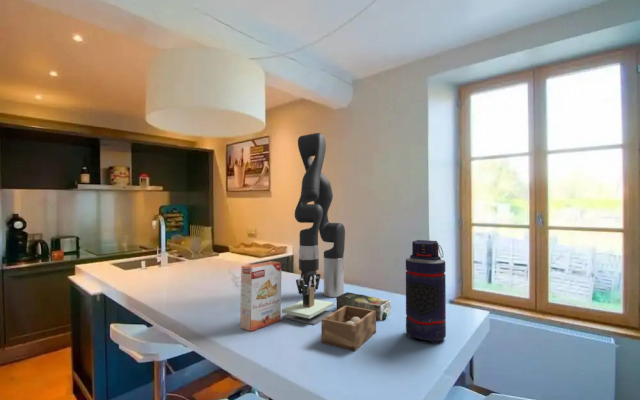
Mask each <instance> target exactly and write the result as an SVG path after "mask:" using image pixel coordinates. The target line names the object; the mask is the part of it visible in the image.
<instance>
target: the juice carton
mask: <svg viewBox="0 0 640 400" xmlns="http://www.w3.org/2000/svg"><path fill="white" fill-rule="evenodd" d="M335 298H336V311H337V310H338V309H340V308H342V307H344V306H345V305H347V306H352V307H358V308H364V309H369V310H375V311H376V321H377V320H378V321H383V320H385V319H386V318H388V316H390V315H391V310H392V309H391V308H392V305H391V304H392V303H391V299H386V298H382V297H381V298H380V297H376V296H370V295H365V294H357V293H354V292H344V293H343V294H342V295H340V296H338V297H335Z"/></svg>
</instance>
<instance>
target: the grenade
mask: <svg viewBox="0 0 640 400" xmlns="http://www.w3.org/2000/svg"><path fill="white" fill-rule="evenodd" d="M411 243H412V244H411V245H412V246H411V247H412V249H411V250H412V254H410V256H409V257H408V258H406V259H405V331H406V333H407V335H408V338H409V339H410V340H414V338H415V339H419V340H424V341H431V344H434V345H436V344H440V341H441V340H443V339H445V338H446V336H447V328H446V327H447V324H446V322H447V321H446V317H447V315H446V314H447V313H446V312H447V311H446V310H447V309H446V300H447V299H446V298H447V297H446V295H447V294H446V261H445V260H444V259H442V258H444V255H445V254H444V251H443V249H442V248H443V247H442V246H441V245H440V244H439V242H438V240H427V239H426V240H423V239H422V240H421V239H416V240H413V241H412V242H411ZM439 255H440V256H439Z"/></svg>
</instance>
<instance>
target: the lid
mask: <svg viewBox="0 0 640 400" xmlns="http://www.w3.org/2000/svg"><path fill="white" fill-rule="evenodd" d="M305 289H306V288H305ZM334 306H335V305H334V302H332V301H327V300H320V299H316V298H315V292H314V287H312V286H311V288H310V289H309V305H304V304H303V299H302V300H300V301H298V302H296V303H293V304H291V305H289V306H286V307H284V308H281V314H285V315H286V314H290V315H295V316H299V317H304V318H309V319H310V318H312V317H314V316H316V315H317V314H319V313H321V312H323V311H325V310H326V311H328V309H330V308H332V307H334Z"/></svg>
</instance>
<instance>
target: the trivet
mask: <svg viewBox="0 0 640 400" xmlns="http://www.w3.org/2000/svg"><path fill="white" fill-rule="evenodd" d="M333 312H334V311H330V310H325V311H323V312H321V313H319V314H317V315H316V316H314V317H312V318H310V319H309V318H304V317H299V316H295V315H290V314H286V313H285V314H284V315H282V316H281V318H282V319H285V320H286V319H287V320H290V321H294V322H300V323H305V324H308V325H312V326H315V325H317V324H320V322H321V323H322V319H323V318H324V317H326V316H328V315H330V314H331V313H333Z"/></svg>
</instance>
